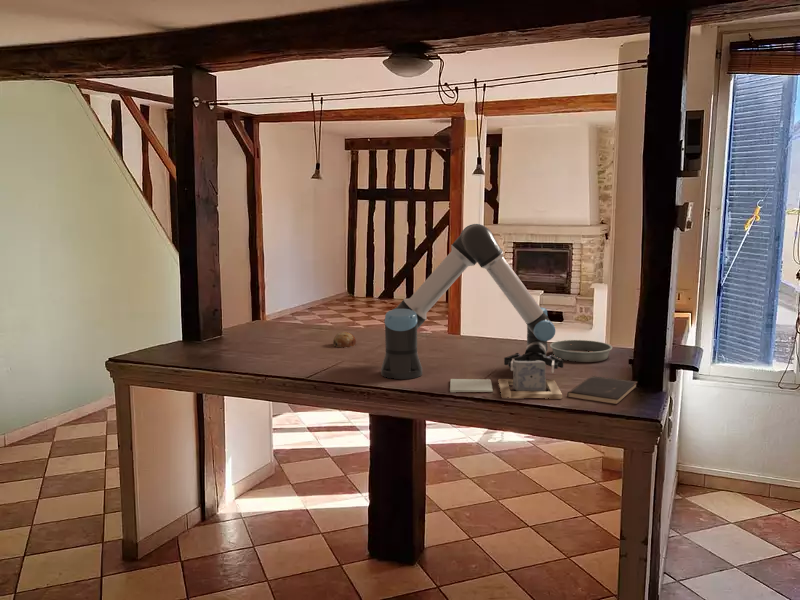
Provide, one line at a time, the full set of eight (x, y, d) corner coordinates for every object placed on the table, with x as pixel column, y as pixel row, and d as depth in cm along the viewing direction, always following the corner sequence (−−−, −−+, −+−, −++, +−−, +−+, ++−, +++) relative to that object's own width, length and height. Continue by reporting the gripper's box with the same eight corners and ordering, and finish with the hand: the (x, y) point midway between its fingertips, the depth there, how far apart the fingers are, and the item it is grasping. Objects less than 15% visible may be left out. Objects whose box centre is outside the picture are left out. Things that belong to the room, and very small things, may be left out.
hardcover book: (637, 388, 222) (637, 381, 222) (617, 406, 203) (617, 398, 203) (590, 381, 231) (590, 375, 231) (567, 398, 212) (567, 391, 212)
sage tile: (450, 392, 218) (450, 390, 218) (450, 381, 232) (450, 379, 232) (492, 392, 217) (492, 390, 217) (490, 381, 231) (490, 379, 231)
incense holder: (540, 387, 223) (541, 357, 222) (546, 394, 215) (547, 363, 214) (511, 387, 223) (512, 357, 222) (516, 394, 215) (516, 363, 213)
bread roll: (332, 352, 297) (325, 338, 293) (347, 340, 303) (341, 325, 299) (346, 356, 290) (340, 341, 286) (362, 343, 296) (356, 328, 292)
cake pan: (614, 352, 275) (614, 341, 274) (609, 365, 252) (609, 354, 252) (554, 348, 284) (554, 337, 283) (544, 360, 261) (544, 349, 261)
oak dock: (501, 398, 211) (501, 393, 211) (498, 383, 229) (498, 378, 229) (562, 398, 209) (562, 394, 209) (554, 383, 227) (554, 379, 227)
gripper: (570, 365, 241) (569, 380, 221) (501, 362, 248) (495, 376, 227) (570, 345, 240) (570, 358, 220) (501, 342, 246) (495, 355, 226)
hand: (532, 368), depth 223 cm, fingers open, 13 cm apart
